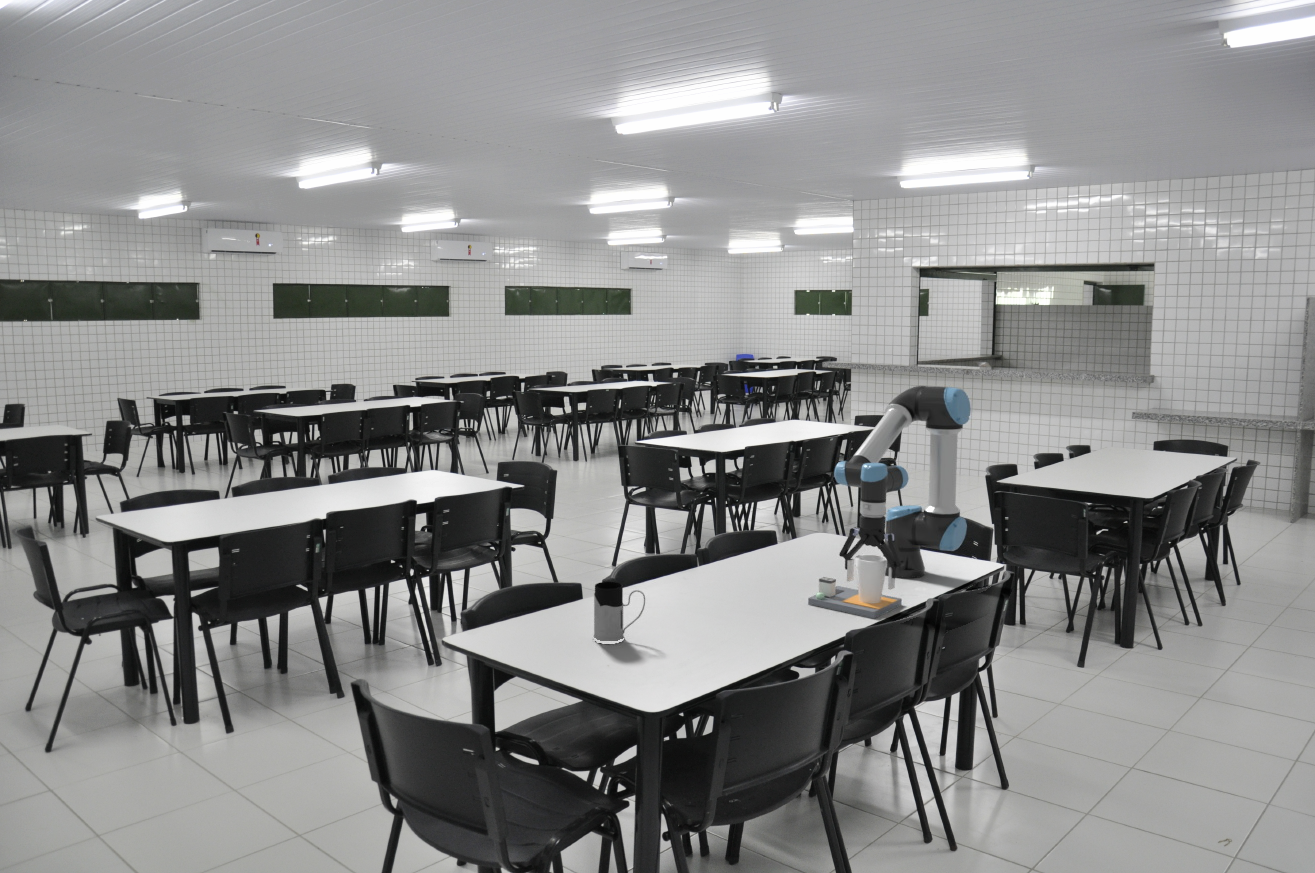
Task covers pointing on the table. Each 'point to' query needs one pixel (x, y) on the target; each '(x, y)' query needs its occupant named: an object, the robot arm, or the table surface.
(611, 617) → the glass holder
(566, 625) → the table surface
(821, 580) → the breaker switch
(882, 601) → the grey flat block
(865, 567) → the foam cup
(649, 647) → the table surface
